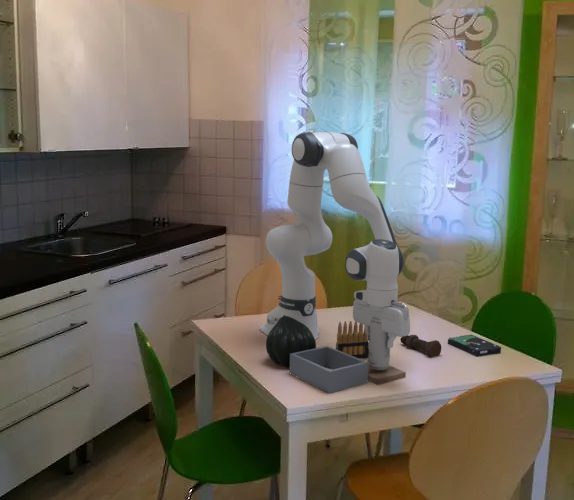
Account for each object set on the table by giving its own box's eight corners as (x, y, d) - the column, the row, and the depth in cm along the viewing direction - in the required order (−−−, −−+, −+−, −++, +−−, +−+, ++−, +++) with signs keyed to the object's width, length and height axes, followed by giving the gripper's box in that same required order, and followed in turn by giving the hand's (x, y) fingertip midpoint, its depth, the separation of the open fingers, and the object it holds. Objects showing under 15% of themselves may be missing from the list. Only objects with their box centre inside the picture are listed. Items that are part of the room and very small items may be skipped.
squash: (322, 354, 197) (313, 308, 205) (272, 358, 194) (264, 312, 202) (313, 372, 209) (305, 328, 217) (266, 377, 206) (259, 332, 214)
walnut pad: (351, 373, 198) (351, 368, 198) (378, 366, 204) (379, 361, 204) (377, 384, 189) (377, 379, 189) (405, 377, 196) (405, 372, 195)
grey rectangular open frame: (289, 373, 196) (289, 353, 195) (326, 364, 205) (327, 345, 204) (329, 393, 182) (329, 371, 181) (367, 382, 190) (368, 362, 189)
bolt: (404, 349, 227) (437, 360, 215) (395, 344, 225) (427, 355, 212) (411, 333, 228) (444, 344, 216) (401, 328, 225) (434, 338, 213)
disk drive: (501, 355, 220) (470, 341, 233) (502, 346, 219) (471, 333, 232) (476, 358, 215) (446, 344, 228) (477, 350, 215) (447, 336, 228)
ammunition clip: (337, 360, 209) (338, 322, 207) (334, 358, 211) (336, 320, 209) (368, 357, 212) (370, 320, 210) (366, 355, 214) (368, 318, 212)
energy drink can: (370, 362, 200) (372, 313, 198) (390, 365, 198) (393, 315, 196) (366, 369, 194) (368, 318, 192) (386, 371, 193) (389, 320, 190)
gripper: (416, 303, 186) (413, 351, 189) (365, 288, 203) (364, 333, 205) (400, 306, 183) (397, 355, 185) (350, 291, 199) (348, 336, 201)
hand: (379, 343), depth 195 cm, fingers closed on energy drink can, 6 cm apart
